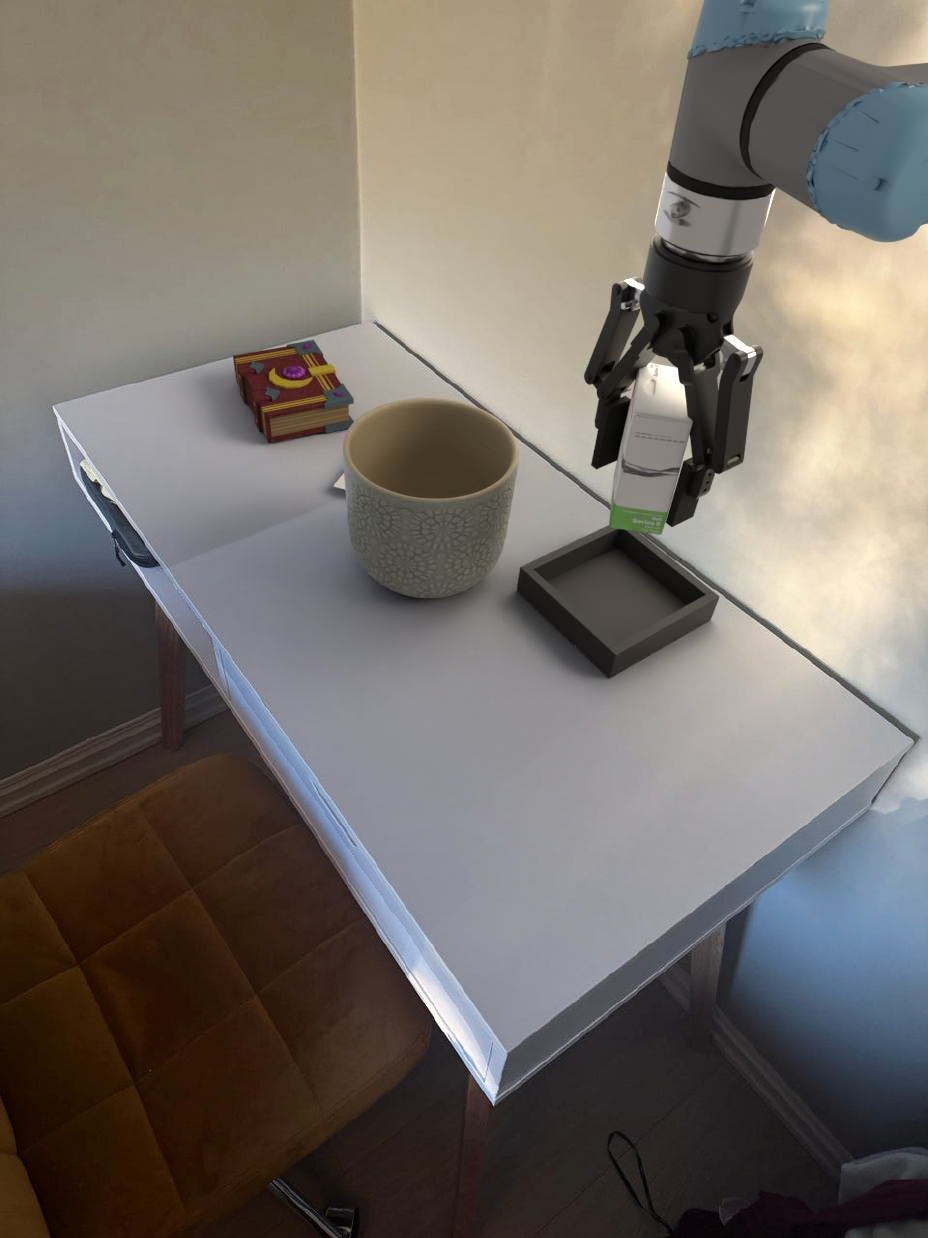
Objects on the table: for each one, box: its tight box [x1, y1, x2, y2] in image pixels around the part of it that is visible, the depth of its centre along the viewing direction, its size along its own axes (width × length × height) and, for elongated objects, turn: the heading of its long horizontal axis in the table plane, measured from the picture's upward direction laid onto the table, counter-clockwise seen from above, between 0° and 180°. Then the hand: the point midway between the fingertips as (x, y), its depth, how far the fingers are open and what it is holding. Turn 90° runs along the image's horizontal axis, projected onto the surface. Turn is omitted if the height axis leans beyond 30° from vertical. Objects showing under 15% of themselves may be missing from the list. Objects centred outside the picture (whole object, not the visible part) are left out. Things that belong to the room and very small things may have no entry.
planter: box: [342, 397, 520, 599], centre depth 92 cm, size 17×17×15 cm
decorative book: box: [232, 339, 355, 444], centre depth 115 cm, size 11×16×5 cm
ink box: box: [608, 362, 693, 536], centre depth 78 cm, size 9×5×12 cm, turn 169°
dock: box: [516, 524, 720, 679], centre depth 94 cm, size 14×14×4 cm
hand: (640, 490), depth 81 cm, fingers closed on ink box, 9 cm apart
